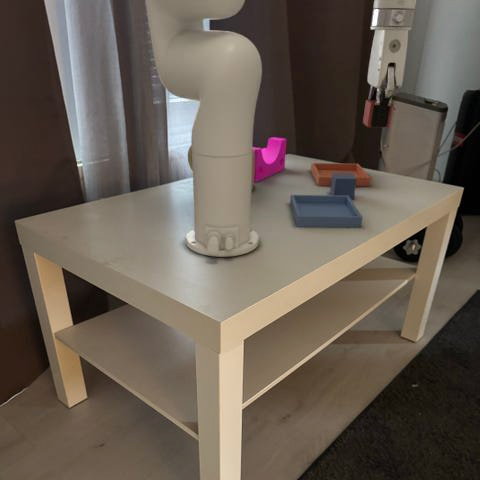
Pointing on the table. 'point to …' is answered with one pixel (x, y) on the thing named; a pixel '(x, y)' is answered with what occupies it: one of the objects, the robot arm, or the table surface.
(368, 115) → the red block
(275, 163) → the toy block
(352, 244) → the table surface
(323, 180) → the red tray
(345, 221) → the blue tray
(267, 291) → the table surface
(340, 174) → the blue block
